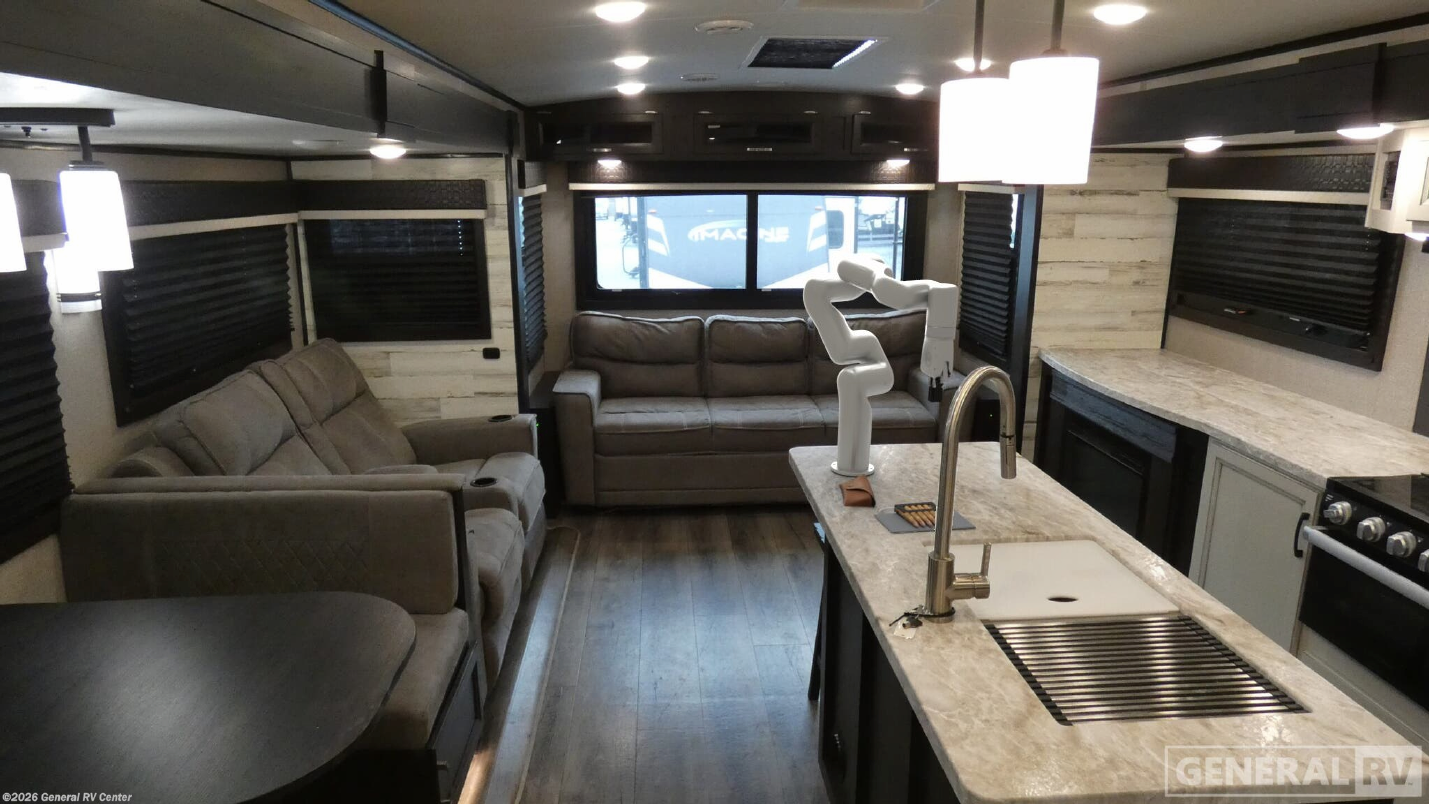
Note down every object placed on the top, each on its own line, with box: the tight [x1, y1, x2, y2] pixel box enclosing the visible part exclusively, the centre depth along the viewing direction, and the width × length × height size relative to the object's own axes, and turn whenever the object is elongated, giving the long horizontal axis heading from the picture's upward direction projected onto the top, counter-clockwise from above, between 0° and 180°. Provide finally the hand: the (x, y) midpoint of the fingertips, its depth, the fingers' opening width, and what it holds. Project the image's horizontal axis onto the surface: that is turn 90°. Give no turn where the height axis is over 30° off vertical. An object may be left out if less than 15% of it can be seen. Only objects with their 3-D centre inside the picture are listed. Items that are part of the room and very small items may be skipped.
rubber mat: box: [873, 509, 977, 534], centre depth 224 cm, size 12×22×1 cm, turn 101°
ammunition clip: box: [893, 501, 937, 527], centre depth 225 cm, size 11×2×12 cm
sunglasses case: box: [838, 474, 877, 509], centre depth 242 cm, size 18×7×7 cm
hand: (934, 401), depth 235 cm, fingers closed
